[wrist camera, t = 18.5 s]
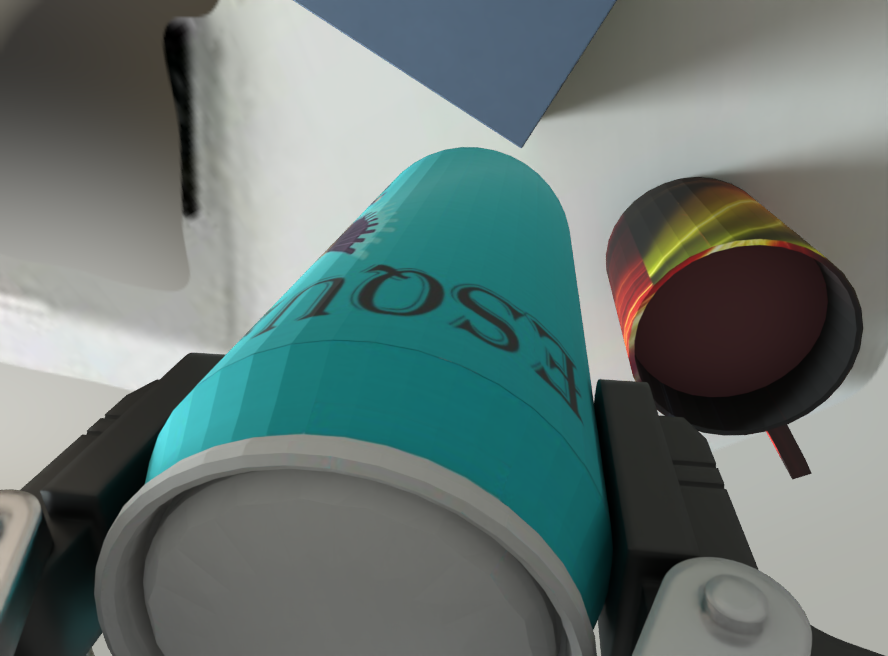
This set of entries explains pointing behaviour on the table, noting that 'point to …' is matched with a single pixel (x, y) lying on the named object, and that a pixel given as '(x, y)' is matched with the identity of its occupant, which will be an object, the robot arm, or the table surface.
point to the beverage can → (385, 449)
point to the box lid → (477, 49)
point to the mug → (730, 312)
